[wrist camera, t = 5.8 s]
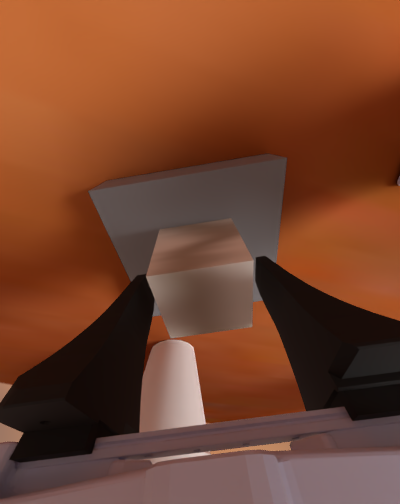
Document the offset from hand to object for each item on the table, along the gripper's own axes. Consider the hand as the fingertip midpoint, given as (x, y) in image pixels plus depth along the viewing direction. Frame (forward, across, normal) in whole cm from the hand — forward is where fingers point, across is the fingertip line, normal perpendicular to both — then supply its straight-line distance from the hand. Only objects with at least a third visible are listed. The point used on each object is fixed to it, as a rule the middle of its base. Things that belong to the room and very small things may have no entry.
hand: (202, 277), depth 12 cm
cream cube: (+2, 0, 0) cm, 2 cm away
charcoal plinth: (+5, 0, 0) cm, 5 cm away
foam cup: (+6, +6, +18) cm, 20 cm away
